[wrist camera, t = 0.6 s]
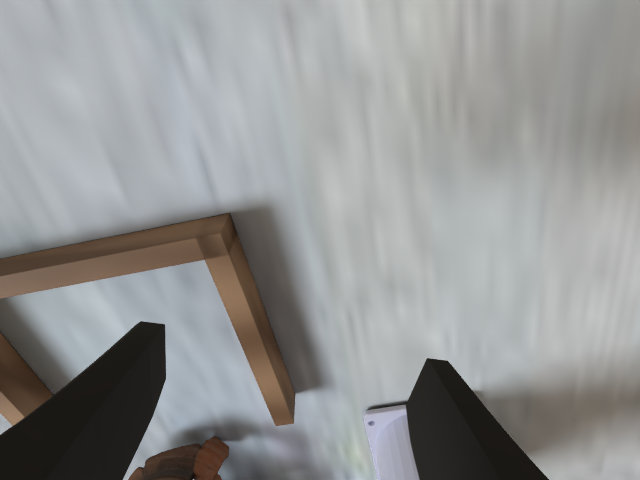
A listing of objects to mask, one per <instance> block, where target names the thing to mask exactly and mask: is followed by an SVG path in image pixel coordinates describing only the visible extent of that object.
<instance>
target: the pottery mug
mask: <svg viewBox="0 0 640 480" xmlns="http://www.w3.org/2000/svg"><path fill="white" fill-rule="evenodd" d="M228 455H229V447H228V446H227V445H226V444H225V443H224V442H222V441H221V440H220V439H218V438H216V437H212V438H211V439H209V440H206V441H205V443H204V444H203V445H202V446H200V445H199V444H191V445H186V446H181V447H178V448H174V449H171V450H167V451H164V452H161V453H159V454H157V455H155V456H152V457H150V458H148V459H147V460H146V462H145V467H144V468H143V467H138V468H137V469H136V470H135V471H134V472H133V474H132V475H131V476H130V478H129V479H128V480H192V479H194V480H222V479H221V477H220V475H218V474H217V473H218V471H219V469H220V467H221V465H222V463H223V461H224V460H225V459H226V458H227V457H228Z"/></svg>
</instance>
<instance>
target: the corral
mask: <svg viewBox="0 0 640 480" xmlns="http://www.w3.org/2000/svg"><path fill="white" fill-rule="evenodd" d="M200 260H205V261H206V264H207V266H208V268H209V271H210V273H211V275H212V278H213V280H214V282H215V285H216V287H217V289H218V292H219V294H220V296H221V299H222V301H223V304H224V306H225V308H226V311H227V313H228V315H229V318H230V320H231V322H232V325H233V327H234V329H235V332H236V334H237V336H238V339H239V341H240V343H241V346H242V348H243V350H244V353H245V355H246V357H247V360H248V362H249V364H250V367H251V369H252V372H253V374H254V376H255V379H256V381H257V383H258V386H259V388H260V390H261V393H262V395H263V397H264V400H265V402H266V404H267V407H268V409H269V411H270V414H271V416H272V418H273V421H274V423H275V425H276V426H280V425H286V424H293V423H294V409H295V392H294V390H293V387H292V384H291V381H290V378H289V376H288V373H287V370H286V367H285V365H284V362H283V359H282V356H281V354H280V351H279V348H278V345H277V342H276V340H275V337H274V334H273V331H272V329H271V326H270V323H269V320H268V318H267V315H266V312H265V309H264V306H263V304H262V301H261V298H260V295H259V293H258V290H257V287H256V284H255V281H254V279H253V276H252V273H251V270H250V268H249V265H248V262H247V259H246V257H245V254H244V251H243V248H242V245H241V243H240V240H239V237H238V234H237V232H236V229H235V226H234V223H233V221H232V218H231V215H230V213H227V214H223V215H218V216H213V217H208V218H203V219H198V220H193V221H188V222H183V223H178V224H173V225H168V226H163V227H158V228H153V229H148V230H143V231H138V232H133V233H128V234H123V235H118V236H113V237H108V238H103V239H98V240H93V241H88V242H83V243H78V244H73V245H68V246H63V247H58V248H53V249H48V250H43V251H38V252H33V253H28V254H23V255H18V256H13V257H8V258H3V259H0V299H1V298H6V297H11V296H16V295H22V294H27V293H32V292H37V291H43V290H48V289H53V288H58V287H63V286H69V285H74V284H79V283H84V282H90V281H95V280H100V279H105V278H111V277H116V276H121V275H126V274H132V273H137V272H142V271H147V270H153V269H158V268H163V267H168V266H174V265H179V264H184V263H189V262H195V261H200ZM52 396H53V395H52V393H51V392H50V391H49V390H48V389H47V387H46V386H45V385H44V384H43V383H42V382H41V380H40V379H39V378H38V377H37V376H36V374H35V373H34V372H33V371H32V370H31V368H30V367H29V366H28V365H27V364H26V363H25V361H24V360H23V359H22V358H21V357H20V355H19V354H18V353H17V352H16V351H15V349H14V348H13V347H12V346H11V345H10V343H9V342H8V341H7V340H6V339H5V338H4V336H3V335H2V334H1V333H0V413H1V414H2V415H3V416H4V417H5V418H6V419H7V420H8V421H9V422H10V423H11V424H12V425H15V424H16V423H18V422H19V421H20V420H22V419H23V418H24V417H26V416H27V415H28V414H30V413H31V412H32V411H34V410H35V409H36V408H38V407H39V406H40V405H41V404H43V403H44V402H45V401H47V400H48V399H49V398H51V397H52Z"/></svg>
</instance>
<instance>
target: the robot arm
mask: <svg viewBox="0 0 640 480" xmlns="http://www.w3.org/2000/svg"><path fill="white" fill-rule="evenodd" d="M165 380H166V356H165V324H157V323H150V322H142V321H141V322H139V323H138V324H136V325H135V326H134V327H133V328H132V329H131V330H130V331H129V332H128V333H126V334H125V335H124V336H123V337H122V338H121V339H120V340H119V341H118V342H116V343H115V344H114V345H113V346H112V347H111V348H110V349H109V350H107V351H106V352H105V353H104V354H103V355H102V356H101V357H99V358H98V359H97V360H96V361H95V362H94V363H92V364H91V365H90V366H89V367H88V368H86V369H85V370H84V371H83V372H82V373H80V374H79V375H78V376H77V377H76V378H74V379H73V380H72V381H71V382H70V383H68V384H67V385H66V386H65V387H63V388H62V389H61V390H60V391H58V392H57V393H56V394H54V395H53V396H52V397H51V398H49V399H48V400H47V401H45V402H44V403H43V404H41V405H40V406H39V407H38V408H36V409H35V410H34V411H32V412H31V413H30V414H28V415H27V416H26V417H24V418H23V419H22V420H20V421H19V422H18V423H16V424H15V425H13V426H12V427H11V428H9V429H8V430H7V431H5V432H4V433H2V434H1V435H0V480H123V478H124V476H125V474H126V471H127V469H128V467H129V465H130V463H131V461H132V459H133V457H134V455H135V453H136V451H137V449H138V446H139V444H140V442H141V440H142V438H143V436H144V434H145V432H146V430H147V427H148V425H149V423H150V421H151V419H152V417H153V414H154V411H155V408H156V406H157V403H158V400H159V397H160V394H161V391H162V388H163V385H164V383H165ZM363 418H364V423H365V427H366V432H367V436H368V440H369V444H370V448H371V453H372V457H373V461H374V465H375V469H376V474H377V478H378V480H549V479H548V478H547V477H546V476H545V475H544V474H543V473H542V472H541V471H540V469H539V468H538V467H537V466H536V465H535V464H534V463H533V462H532V461H531V460H530V458H529V457H528V456H527V455H526V454H525V453H524V452H523V451H522V450H521V449H520V447H519V446H518V445H517V444H516V443H515V442H514V441H513V439H512V438H511V437H510V436H509V435H508V434H507V432H506V431H505V430H504V429H503V428H502V427H501V425H500V424H499V423H498V422H497V421H496V419H495V418H494V417H493V416H492V415H491V413H490V412H489V411H488V410H487V408H486V407H485V406H484V405H483V404H482V402H481V401H480V400H479V399H478V397H477V396H476V395H475V394H474V392H473V391H472V390H471V389H470V387H469V386H468V385H467V384H466V382H465V381H464V380H463V379H462V378H461V376H460V375H459V374H458V373H457V371H456V370H455V369H454V368H453V367H452V365H451V364H450V363H449V362H448V361H445V360H437V359H429V358H427V360H426V362H425V364H424V366H423V368H422V371H421V373H420V375H419V377H418V380H417V382H416V384H415V386H414V389H413V391H412V393H411V395H410V397H409V400H408V402H407V404H406V405H399V406H392V407H386V408H379V409H372V410H367V411H365V412H364V413H363Z"/></svg>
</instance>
